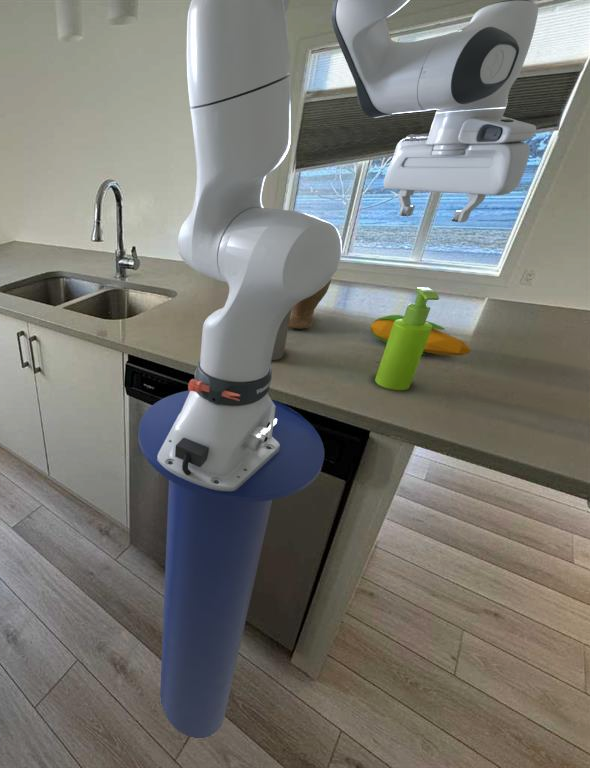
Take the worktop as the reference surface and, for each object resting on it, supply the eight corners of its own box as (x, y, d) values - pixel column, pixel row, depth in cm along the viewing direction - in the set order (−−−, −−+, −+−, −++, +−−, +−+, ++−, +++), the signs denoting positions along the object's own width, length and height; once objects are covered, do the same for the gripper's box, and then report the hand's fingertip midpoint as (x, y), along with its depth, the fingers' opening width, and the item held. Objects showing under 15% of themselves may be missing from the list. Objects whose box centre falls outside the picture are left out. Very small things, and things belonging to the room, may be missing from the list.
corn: (386, 304, 100) (488, 328, 85) (378, 332, 104) (474, 359, 89) (367, 313, 98) (469, 339, 82) (360, 341, 102) (456, 371, 86)
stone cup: (318, 334, 106) (331, 278, 99) (269, 328, 112) (278, 275, 104) (322, 315, 117) (334, 263, 110) (278, 310, 123) (286, 261, 115)
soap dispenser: (381, 391, 81) (414, 295, 71) (371, 375, 87) (400, 283, 77) (416, 394, 80) (454, 296, 70) (403, 377, 85) (438, 284, 75)
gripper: (388, 135, 76) (366, 214, 83) (525, 128, 59) (482, 227, 66) (412, 134, 78) (388, 211, 85) (550, 126, 61) (507, 223, 68)
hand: (430, 218), depth 75 cm, fingers open, 8 cm apart
